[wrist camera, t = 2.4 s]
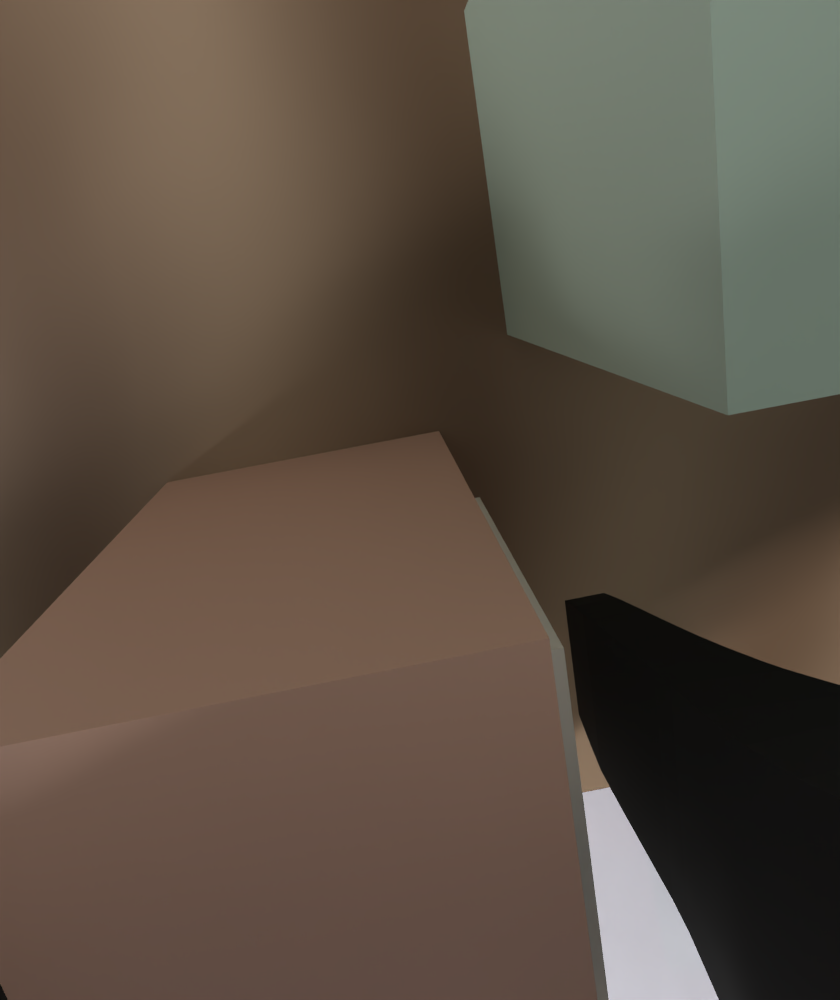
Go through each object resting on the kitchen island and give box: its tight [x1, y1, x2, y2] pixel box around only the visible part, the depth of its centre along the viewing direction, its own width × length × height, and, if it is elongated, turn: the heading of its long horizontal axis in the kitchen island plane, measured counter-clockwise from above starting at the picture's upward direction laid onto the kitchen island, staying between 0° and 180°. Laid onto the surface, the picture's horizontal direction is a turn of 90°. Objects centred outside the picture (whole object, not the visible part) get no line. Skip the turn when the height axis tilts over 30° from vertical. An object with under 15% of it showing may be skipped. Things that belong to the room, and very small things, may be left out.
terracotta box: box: [0, 431, 608, 1000], centre depth 9 cm, size 5×7×7 cm
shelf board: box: [0, 0, 840, 792], centre depth 11 cm, size 20×18×2 cm
